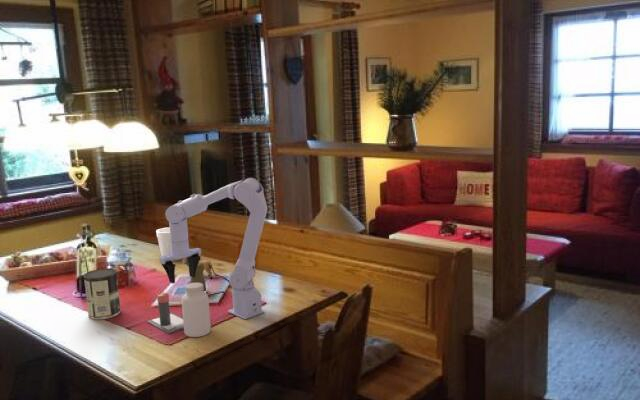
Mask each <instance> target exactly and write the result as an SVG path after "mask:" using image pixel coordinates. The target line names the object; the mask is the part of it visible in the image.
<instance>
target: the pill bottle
mask: <svg viewBox="0 0 640 400" xmlns="http://www.w3.org/2000/svg"><path fill="white" fill-rule="evenodd" d="M184 288H185V289H184V290H185V291H184V292H185V293H184V294H183V295H182V297H181V301H180V302H181V310H182V318H183V324H184V329H183V331H184V335H185V336H186V337H190V338H198V337H203V336H206V335H208V334H209V333H210V332H211V328H212V327H211V326H212V325H211V313H210V312H211V311H210V303H209V301H210V300H209V295H208V292H207V293H205V292H203V284H202V283H191V282H190V283H187V284H186V285H185V286H184Z"/></svg>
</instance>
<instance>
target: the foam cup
mask: <svg viewBox="0 0 640 400" xmlns="http://www.w3.org/2000/svg"><path fill="white" fill-rule="evenodd" d="M155 233H156V238H157V242H158V247H159V250H160V254H161V257H162V256H165V255H167V254H170V253H171V241H170V228H169V227H163V228H159V229H156V231H155Z"/></svg>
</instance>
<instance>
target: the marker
mask: <svg viewBox="0 0 640 400" xmlns="http://www.w3.org/2000/svg"><path fill="white" fill-rule="evenodd" d="M156 296H157V297H156V298H157V299H156V300H157V305H158V314H159V315H158V316H159V317H160V325H161V326H167V325H170V324H171V319H170V313H171V310H170V297H169V293H167V292H161V293H158V294H157V295H156Z"/></svg>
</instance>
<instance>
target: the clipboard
mask: <svg viewBox="0 0 640 400" xmlns="http://www.w3.org/2000/svg"><path fill="white" fill-rule="evenodd" d="M170 319H171V324H170V325H167V326H161V325H160V317H155V318H152V319H150V320H147V322H146V323H148V324H150V325H152V326H154V327H155V328H157V329H159V330H160V331H163V332H165V333H166V334H168V335H169V334H173V333H176V332H178V331H181V330H184V324H183V316H182V317H181V316H180V315H178V314H175V313H174V312H170Z"/></svg>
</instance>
